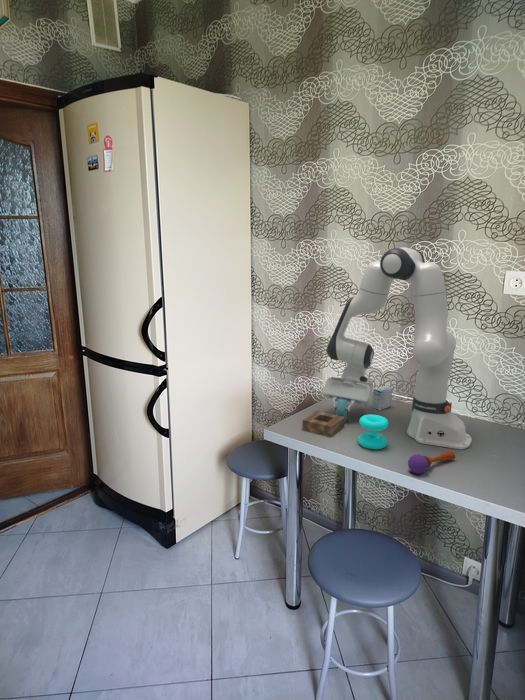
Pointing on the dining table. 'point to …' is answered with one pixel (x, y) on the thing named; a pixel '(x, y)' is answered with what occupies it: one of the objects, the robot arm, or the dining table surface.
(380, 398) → the medicine box
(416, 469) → the kendama
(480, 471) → the dining table surface
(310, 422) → the brown square frame block
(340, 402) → the teal rounded cylinder
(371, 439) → the donuts
